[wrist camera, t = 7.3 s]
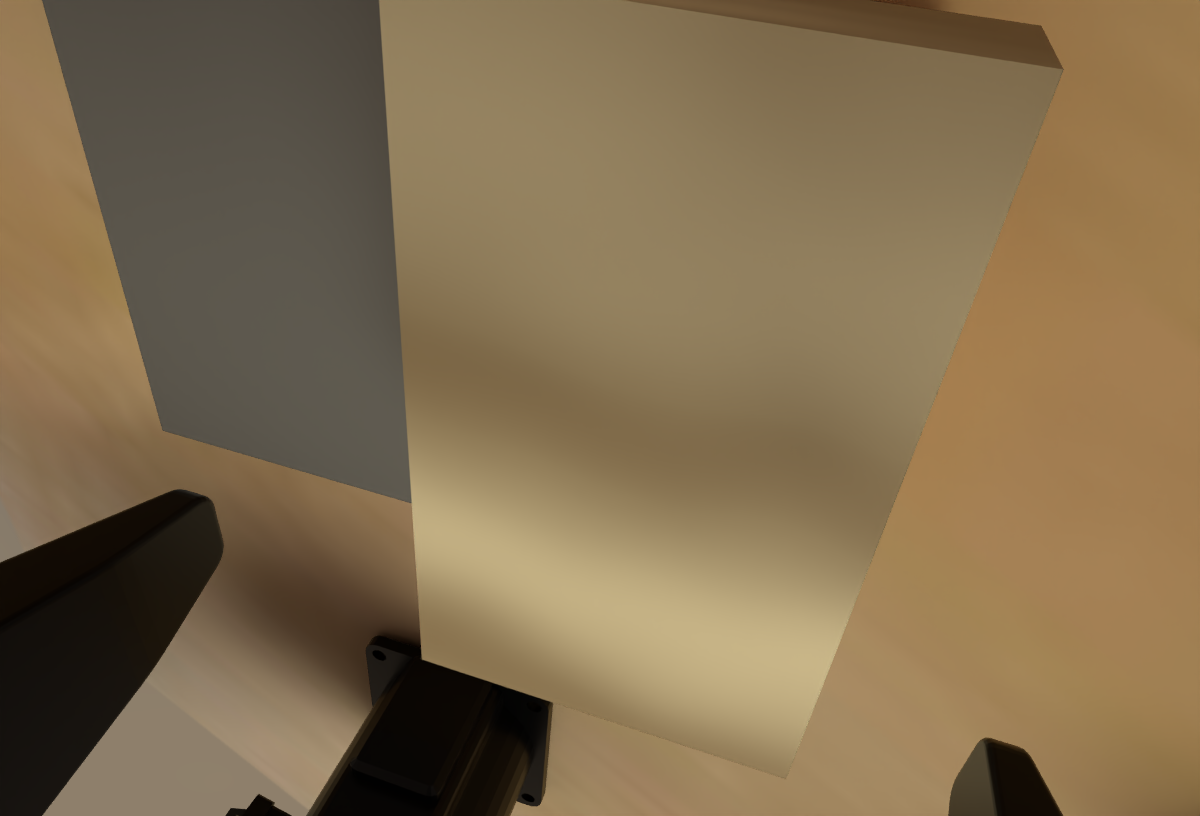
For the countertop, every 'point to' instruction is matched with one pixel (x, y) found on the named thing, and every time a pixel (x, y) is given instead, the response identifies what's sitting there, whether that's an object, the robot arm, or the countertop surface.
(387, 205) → the mat
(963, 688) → the countertop surface
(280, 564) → the countertop surface
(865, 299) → the beige block on tray
